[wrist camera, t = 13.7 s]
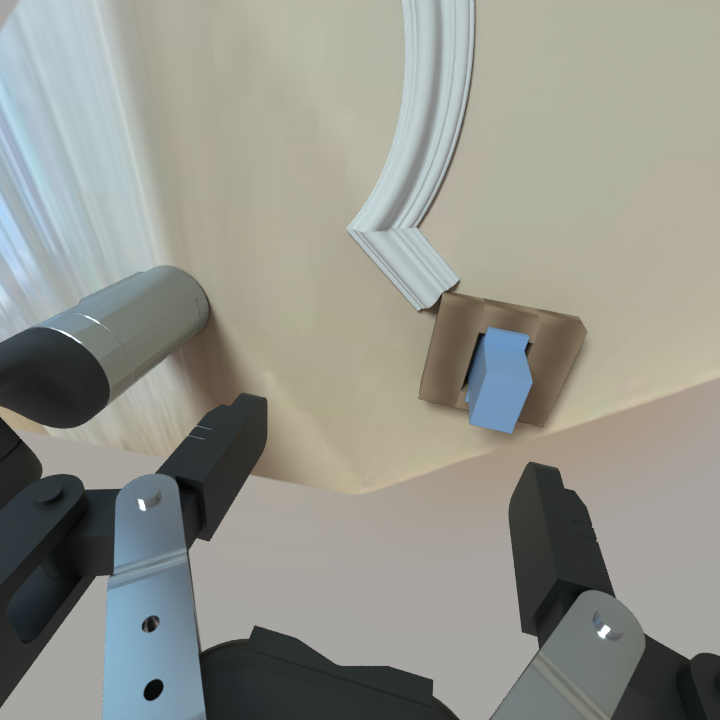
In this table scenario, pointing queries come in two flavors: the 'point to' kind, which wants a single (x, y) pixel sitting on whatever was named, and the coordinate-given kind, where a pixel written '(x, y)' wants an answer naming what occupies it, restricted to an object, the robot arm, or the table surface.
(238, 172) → the table surface
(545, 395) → the tan square ring
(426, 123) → the molding
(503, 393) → the blue block
